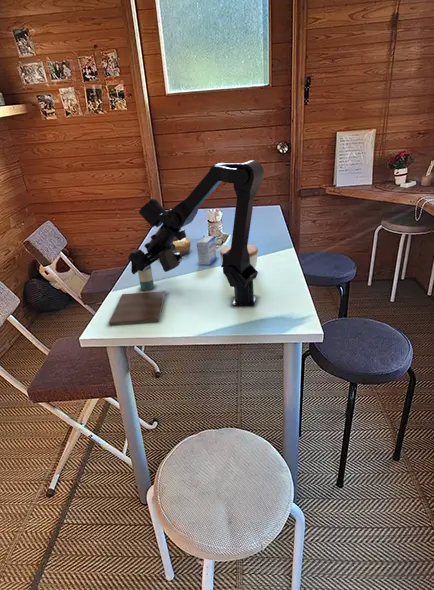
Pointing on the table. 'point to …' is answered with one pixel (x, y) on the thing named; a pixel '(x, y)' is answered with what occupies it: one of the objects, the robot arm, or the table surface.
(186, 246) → the pastry
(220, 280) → the table surface
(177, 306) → the table surface
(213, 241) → the medicine box
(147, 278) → the glue bottle
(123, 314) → the desk board
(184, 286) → the table surface
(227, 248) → the lidded bowl
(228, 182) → the robot arm
